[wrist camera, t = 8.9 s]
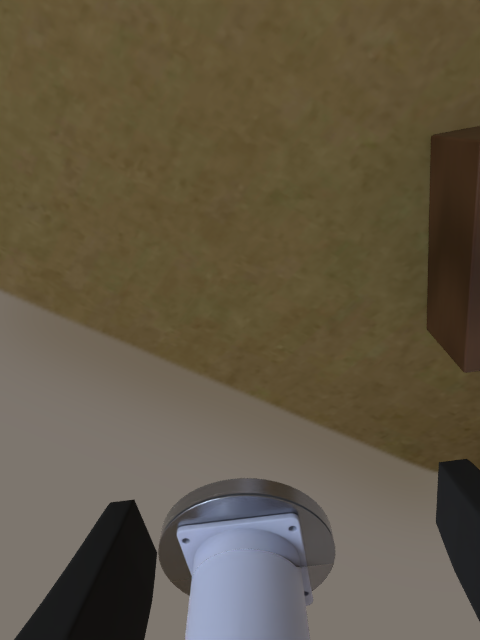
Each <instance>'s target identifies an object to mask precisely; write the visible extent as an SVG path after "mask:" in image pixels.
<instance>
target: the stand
mask: <svg viewBox="0 0 480 640" xmlns="http://www.w3.org/2000/svg"><path fill="white" fill-rule="evenodd" d="M427 330H428V331H429V332H430V334H431V335H432V336H433V337H434V338H435V339H436V341H437V342H438V343H439V344H440V345H441V346H442V347H443V349H444V350H445V351H446V352H447V353H448V354H449V356H450V357H451V358H452V359H453V360H454V361H455V363H456V364H457V365H458V366H459V367H460V368H461V370H462V371H463V372H466V373H467V372H474V371H480V126H477V127H472V128H466V129H461V130H456V131H451V132H445V133H440V134H435V135H433V136H432V137H431V164H430V209H429V254H428V299H427Z"/></svg>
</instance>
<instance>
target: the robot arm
mask: <svg viewBox="0 0 480 640" xmlns="http://www.w3.org/2000/svg"><path fill="white" fill-rule="evenodd" d="M436 524H437V526H438V528H439V532H440V534H441V537H442V540H443V542H444V545H445V548H446V550H447V553H448V555H449V558H450V560H451V563H452V566H453V568H454V571H455V573H456V575H457V577H458V579H459V581H460V583H461V585H462V587H463V589H464V591H465V593H466V595H467V597H468V599H469V601H470V603H471V605H472V607H473V609H474V611H475V613H476V615H477V617H478V619H479V621H480V470H479V469H478V468H477V467H476V466H475V465H474V464H473V463H472V462H470V461H469V460H467V459H463V460H455V461H446V462H439V472H438V491H437V511H436ZM177 538H178V541H179V543H180V546H181V549H182V551H183V554H184V557H185V559H186V562H187V565H188V567H189V570H190V573H191V575H192V581H191V590H190V599H189V608H188V617H187V626H186V635H185V640H310V635H309V627H308V619H307V612H306V606H307V605H310V604H312V603H313V596H312V590H311V585H310V579H309V573H308V567H307V561H306V555H305V550H304V544H303V538H302V532H301V526H300V521H299V517H298V515H296V514H294V513H288V514H279V515H271V516H262V517H254V518H245V519H237V520H228V521H220V522H211V523H203V524H194V525H186V526H181V527H179V528H178V530H177ZM156 557H157V552H156V549H155V547H154V545H153V542H152V540H151V538H150V535H149V533H148V531H147V528H146V526H145V524H144V521H143V519H142V517H141V514H140V512H139V510H138V507H137V505H136V503H135V500H128V501H120V502H111V503H110V504H109V505H108V506H107V508H106V509H105V511H104V512H103V514H102V515H101V517H100V518H99V519H98V521H97V522H96V524H95V525H94V527H93V529H92V530H91V532H90V533H89V535H88V536H87V538H86V539H85V541H84V542H83V544H82V545H81V547H80V548H79V550H78V551H77V553H76V554H75V556H74V557H73V558H72V560H71V561H70V563H69V564H68V566H67V567H66V569H65V570H64V572H63V573H62V574H61V576H60V577H59V579H58V580H57V582H56V583H55V584H54V586H53V587H52V589H51V590H50V592H49V593H48V594H47V596H46V597H45V599H44V600H43V602H42V603H41V604H40V606H39V607H38V608H37V610H36V611H35V612H34V614H33V615H32V616H31V618H30V619H29V621H28V622H27V623H26V624H25V626H24V627H23V628H22V630H21V631H20V633H19V634H18V635H17V636H16V638H15V639H14V640H144V638H145V633H146V628H147V623H148V619H149V614H150V609H151V604H152V597H153V588H154V580H155V568H156Z"/></svg>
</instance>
